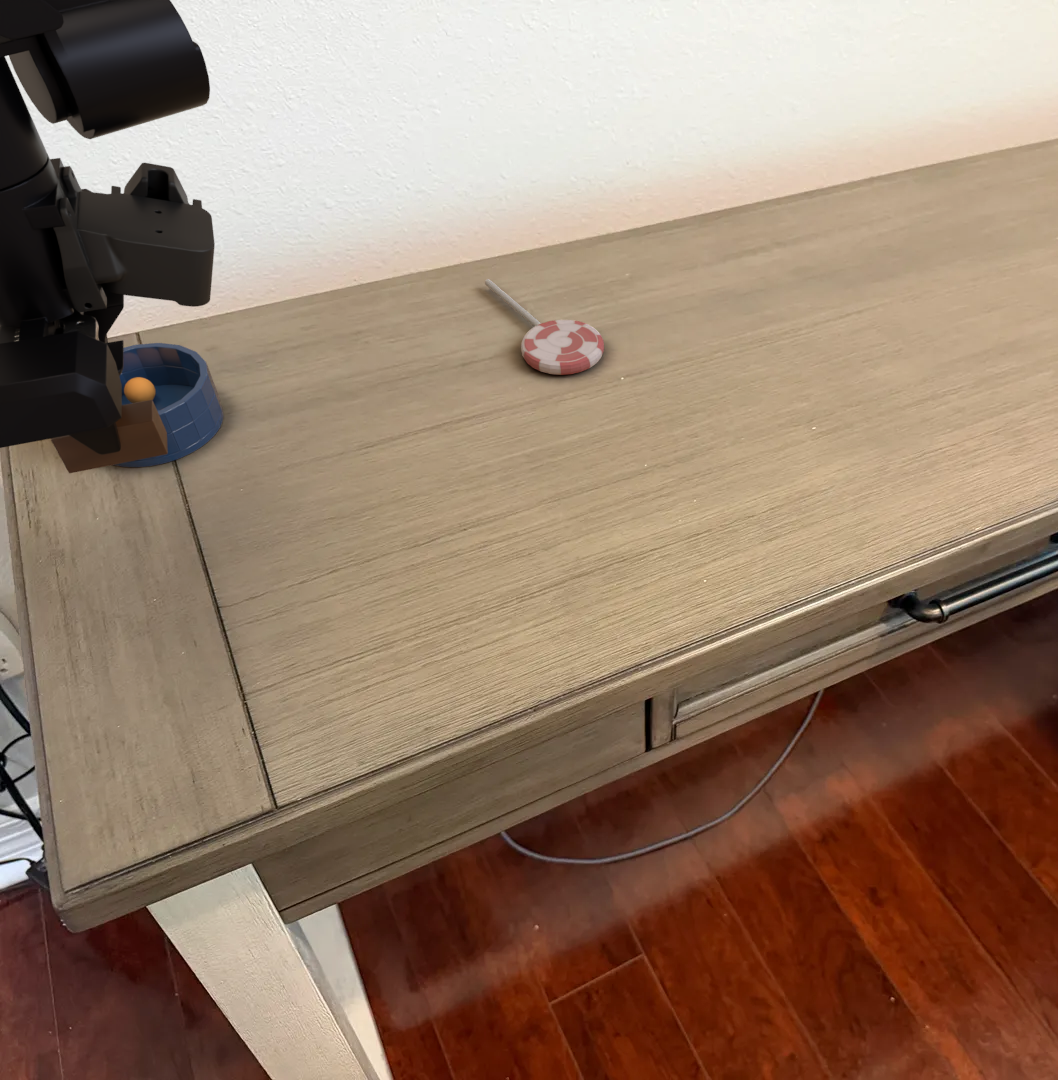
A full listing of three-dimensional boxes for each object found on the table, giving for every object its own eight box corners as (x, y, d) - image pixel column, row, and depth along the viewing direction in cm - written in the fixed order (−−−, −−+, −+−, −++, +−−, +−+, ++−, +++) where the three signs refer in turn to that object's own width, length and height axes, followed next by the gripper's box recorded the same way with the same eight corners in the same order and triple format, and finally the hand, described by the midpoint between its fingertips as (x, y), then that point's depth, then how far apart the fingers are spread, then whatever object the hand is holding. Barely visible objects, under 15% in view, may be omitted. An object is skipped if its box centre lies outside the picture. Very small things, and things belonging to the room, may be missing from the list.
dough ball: (130, 413, 75) (119, 390, 74) (129, 397, 76) (119, 374, 75) (160, 407, 76) (150, 385, 74) (159, 391, 77) (149, 369, 76)
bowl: (85, 480, 71) (61, 435, 68) (86, 401, 77) (64, 356, 74) (228, 451, 74) (211, 406, 71) (218, 376, 79) (202, 332, 77)
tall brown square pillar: (168, 454, 58) (152, 420, 56) (68, 474, 57) (50, 440, 55) (167, 432, 59) (152, 399, 58) (70, 451, 58) (52, 417, 56)
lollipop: (520, 264, 90) (620, 346, 82) (521, 275, 91) (620, 357, 83) (452, 288, 87) (549, 375, 79) (454, 299, 88) (550, 386, 80)
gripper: (179, 242, 42) (280, 516, 53) (168, 68, 54) (252, 322, 65) (-139, 288, 39) (39, 569, 50) (-76, 93, 51) (56, 354, 62)
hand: (111, 438), depth 57 cm, fingers closed on tall brown square pillar, 2 cm apart
